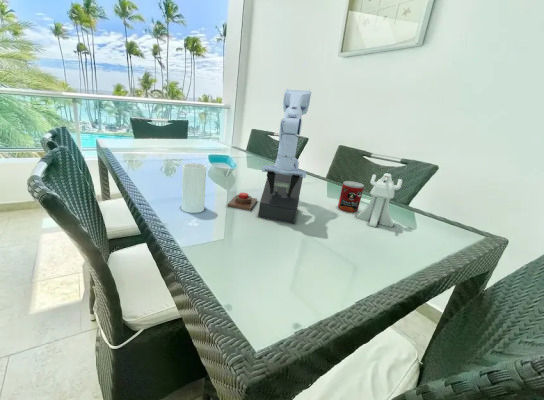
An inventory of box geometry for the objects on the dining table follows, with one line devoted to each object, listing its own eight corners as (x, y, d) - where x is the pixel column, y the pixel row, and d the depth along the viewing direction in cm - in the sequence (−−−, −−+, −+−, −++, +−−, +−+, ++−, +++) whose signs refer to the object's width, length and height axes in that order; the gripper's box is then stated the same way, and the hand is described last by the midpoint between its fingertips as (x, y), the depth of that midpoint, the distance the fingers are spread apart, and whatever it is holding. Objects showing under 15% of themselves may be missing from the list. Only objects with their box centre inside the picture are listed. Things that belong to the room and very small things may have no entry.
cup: (186, 214, 94) (187, 168, 89) (178, 205, 101) (179, 163, 96) (207, 211, 98) (210, 168, 93) (199, 203, 105) (200, 162, 99)
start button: (240, 195, 110) (240, 192, 109) (248, 197, 109) (249, 193, 108) (237, 198, 106) (238, 194, 106) (246, 199, 105) (247, 196, 105)
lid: (269, 171, 105) (269, 160, 100) (303, 176, 101) (304, 165, 97) (259, 204, 95) (259, 194, 91) (296, 210, 92) (298, 200, 88)
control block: (236, 197, 115) (236, 190, 114) (256, 201, 113) (257, 194, 112) (227, 206, 104) (228, 199, 103) (250, 211, 102) (251, 203, 101)
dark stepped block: (265, 203, 111) (267, 192, 109) (297, 209, 107) (299, 197, 106) (258, 217, 97) (259, 204, 95) (294, 224, 93) (296, 211, 92)
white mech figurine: (353, 222, 99) (366, 174, 93) (359, 212, 109) (371, 168, 103) (391, 232, 93) (407, 181, 87) (393, 221, 103) (407, 174, 97)
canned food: (337, 210, 109) (343, 184, 106) (337, 204, 117) (343, 179, 113) (358, 214, 107) (365, 187, 103) (357, 208, 114) (363, 182, 110)
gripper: (262, 154, 88) (257, 194, 93) (308, 160, 84) (301, 201, 89) (266, 151, 94) (261, 188, 99) (309, 157, 90) (302, 195, 95)
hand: (280, 194), depth 94 cm, fingers open, 5 cm apart
